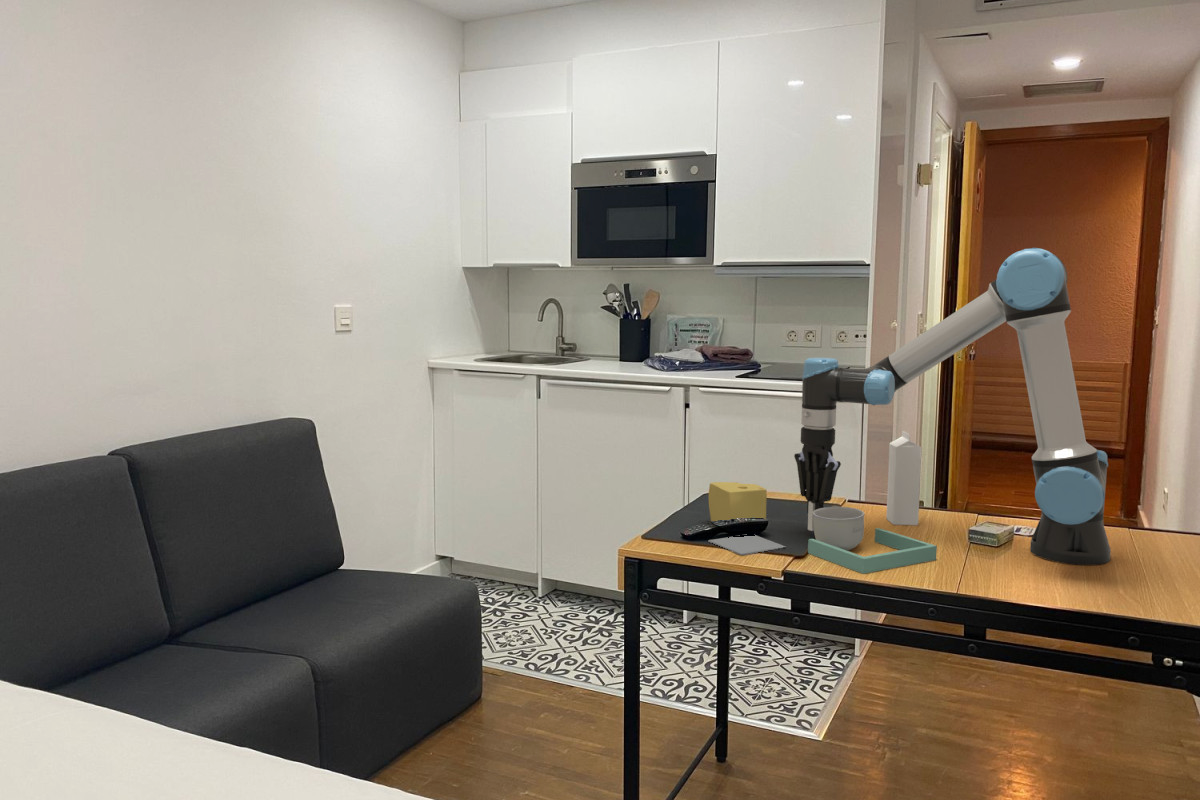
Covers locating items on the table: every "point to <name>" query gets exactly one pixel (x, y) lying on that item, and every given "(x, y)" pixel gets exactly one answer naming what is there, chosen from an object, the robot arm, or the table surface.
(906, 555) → the cup bay
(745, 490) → the cheese
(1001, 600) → the table surface
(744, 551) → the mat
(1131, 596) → the table surface
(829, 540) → the teacup
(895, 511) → the milk
